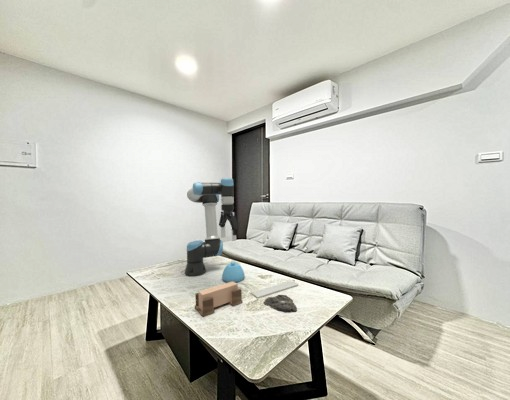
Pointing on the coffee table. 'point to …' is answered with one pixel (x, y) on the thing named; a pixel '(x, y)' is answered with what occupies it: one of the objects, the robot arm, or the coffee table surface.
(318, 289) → the coffee table surface
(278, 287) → the baseboard
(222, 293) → the peach rectangular block
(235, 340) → the coffee table surface
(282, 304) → the dark grey rock
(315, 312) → the coffee table surface
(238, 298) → the rack
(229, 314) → the coffee table surface
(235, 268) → the sugar bowl
